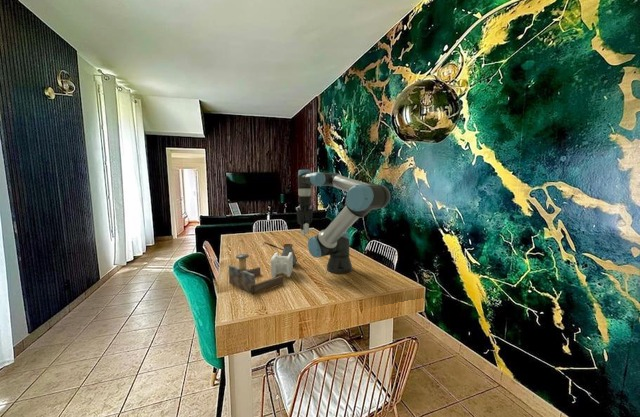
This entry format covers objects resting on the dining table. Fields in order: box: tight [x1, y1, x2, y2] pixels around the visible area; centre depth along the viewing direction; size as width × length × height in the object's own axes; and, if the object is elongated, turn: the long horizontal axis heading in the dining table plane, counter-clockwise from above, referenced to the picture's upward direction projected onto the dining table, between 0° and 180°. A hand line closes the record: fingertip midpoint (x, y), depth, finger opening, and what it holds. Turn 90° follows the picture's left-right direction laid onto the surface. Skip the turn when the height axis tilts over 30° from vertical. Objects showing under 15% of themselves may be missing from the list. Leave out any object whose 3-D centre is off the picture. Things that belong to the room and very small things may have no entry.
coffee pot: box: [262, 241, 298, 266], centre depth 165 cm, size 21×12×15 cm, turn 93°
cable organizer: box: [269, 252, 294, 279], centre depth 147 cm, size 15×11×12 cm
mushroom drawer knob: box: [235, 253, 250, 272], centre depth 151 cm, size 7×7×10 cm
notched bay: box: [228, 264, 284, 295], centre depth 134 cm, size 22×18×9 cm
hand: (305, 234), depth 158 cm, fingers open, 3 cm apart
